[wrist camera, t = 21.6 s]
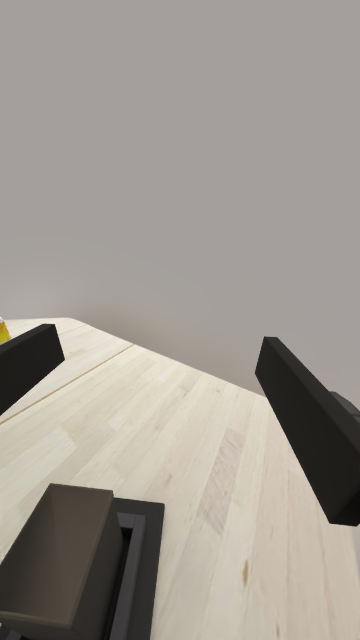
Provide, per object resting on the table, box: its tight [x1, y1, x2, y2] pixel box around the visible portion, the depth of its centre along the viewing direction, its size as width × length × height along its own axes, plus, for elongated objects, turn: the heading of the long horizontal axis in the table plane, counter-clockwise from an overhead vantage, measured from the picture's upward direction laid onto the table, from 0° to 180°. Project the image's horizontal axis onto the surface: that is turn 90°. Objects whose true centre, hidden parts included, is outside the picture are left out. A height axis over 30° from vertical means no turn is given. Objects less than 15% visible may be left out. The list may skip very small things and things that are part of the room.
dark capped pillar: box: [0, 483, 125, 640], centre depth 13 cm, size 5×5×11 cm
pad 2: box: [0, 497, 165, 640], centre depth 15 cm, size 12×12×3 cm
